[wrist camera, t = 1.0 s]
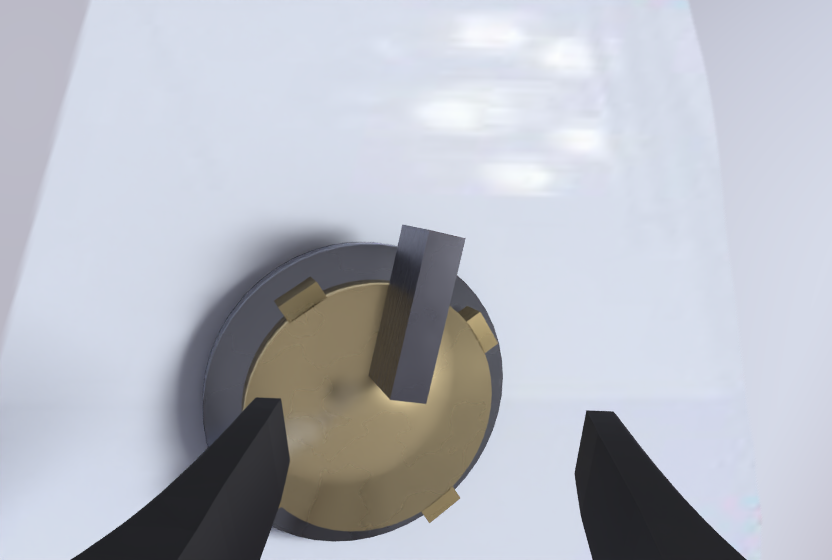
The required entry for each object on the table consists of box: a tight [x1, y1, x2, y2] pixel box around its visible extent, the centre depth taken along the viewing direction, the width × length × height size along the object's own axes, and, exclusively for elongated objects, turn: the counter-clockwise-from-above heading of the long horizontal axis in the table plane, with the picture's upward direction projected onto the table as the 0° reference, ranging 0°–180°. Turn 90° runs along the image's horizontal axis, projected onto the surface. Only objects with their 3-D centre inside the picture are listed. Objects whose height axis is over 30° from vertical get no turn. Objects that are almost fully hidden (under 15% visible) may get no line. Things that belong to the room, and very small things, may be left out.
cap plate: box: [203, 242, 503, 541], centre depth 27 cm, size 14×14×1 cm
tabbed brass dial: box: [241, 225, 498, 531], centre depth 24 cm, size 12×12×4 cm
